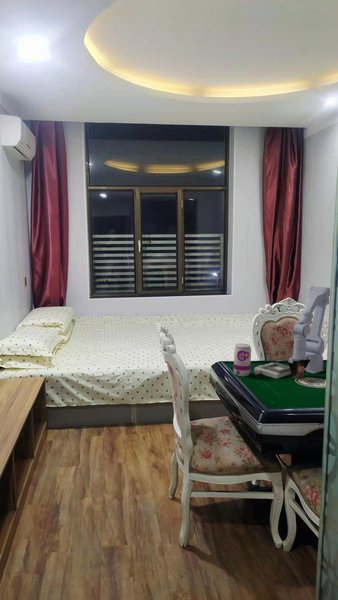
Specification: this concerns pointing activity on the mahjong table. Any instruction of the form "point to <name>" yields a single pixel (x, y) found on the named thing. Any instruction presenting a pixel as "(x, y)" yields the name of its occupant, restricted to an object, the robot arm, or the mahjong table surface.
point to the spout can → (300, 372)
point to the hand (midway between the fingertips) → (298, 374)
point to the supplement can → (242, 359)
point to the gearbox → (273, 370)
